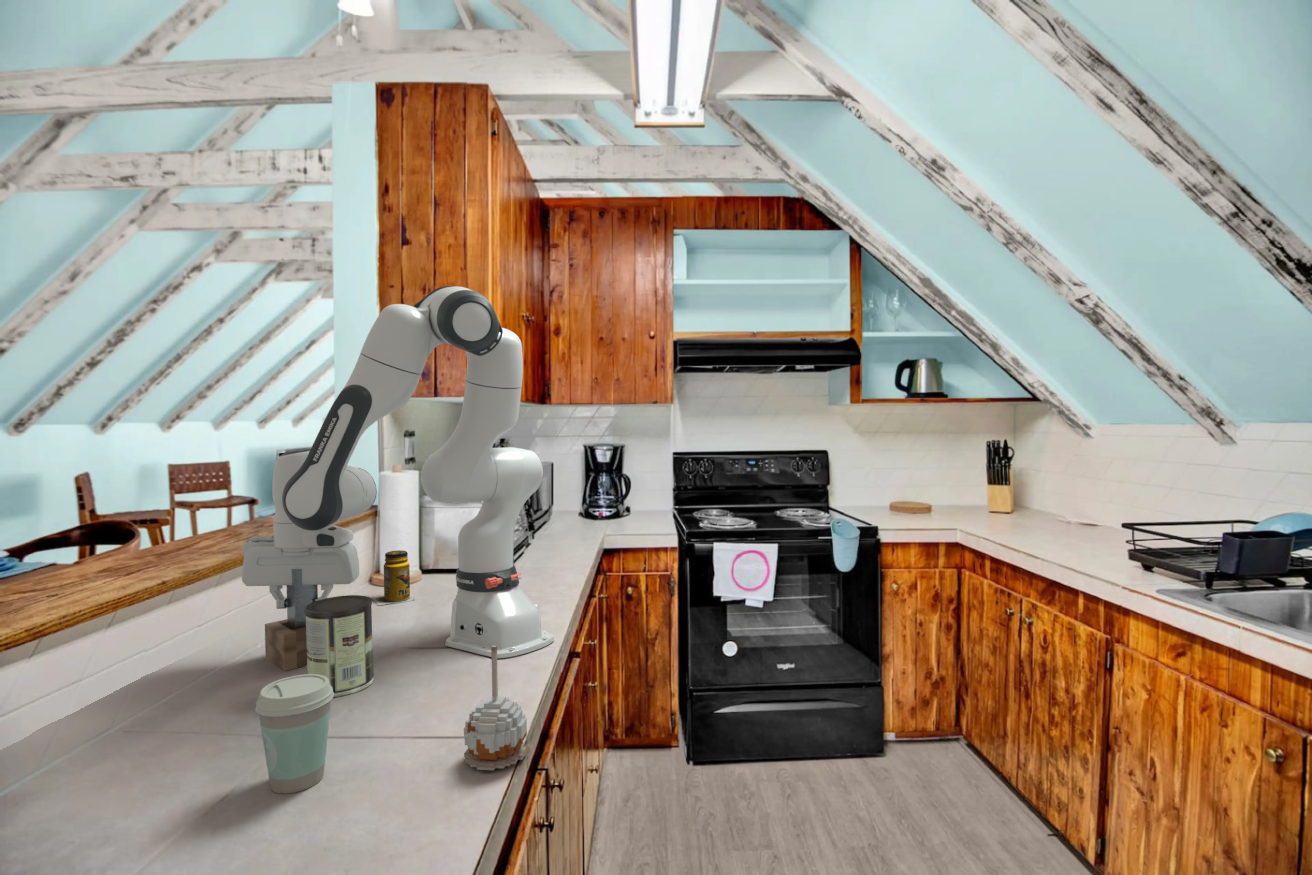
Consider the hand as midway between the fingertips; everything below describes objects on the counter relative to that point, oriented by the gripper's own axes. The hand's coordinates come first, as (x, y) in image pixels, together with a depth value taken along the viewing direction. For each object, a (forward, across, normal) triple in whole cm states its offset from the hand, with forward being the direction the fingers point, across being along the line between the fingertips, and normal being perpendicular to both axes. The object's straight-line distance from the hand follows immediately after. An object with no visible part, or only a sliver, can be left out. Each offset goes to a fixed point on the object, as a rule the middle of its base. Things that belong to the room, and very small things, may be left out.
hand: (302, 607), depth 123 cm
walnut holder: (+10, 0, 0) cm, 10 cm away
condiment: (+10, +4, +39) cm, 41 cm away
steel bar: (+7, 0, 0) cm, 7 cm away
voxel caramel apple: (+9, +43, -41) cm, 60 cm away
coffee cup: (+9, +19, -44) cm, 49 cm away
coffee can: (+10, +12, -14) cm, 21 cm away
